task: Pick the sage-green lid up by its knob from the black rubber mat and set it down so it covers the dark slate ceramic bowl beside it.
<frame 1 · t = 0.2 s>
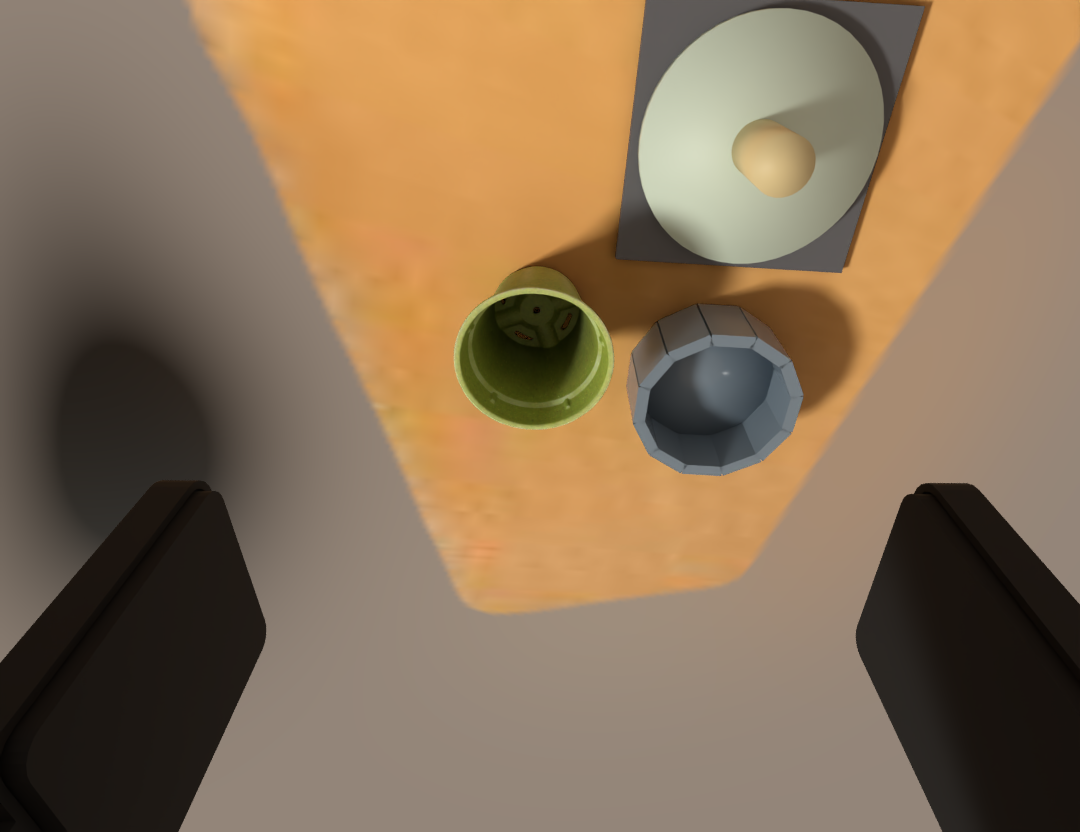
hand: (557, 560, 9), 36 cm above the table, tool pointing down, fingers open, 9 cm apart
plant pot: (537, 304, 46), on the table
mat: (752, 143, 40), on the table
lid: (754, 145, 39), point 1 cm above the table, touching mat
bowl: (702, 374, 48), on the table
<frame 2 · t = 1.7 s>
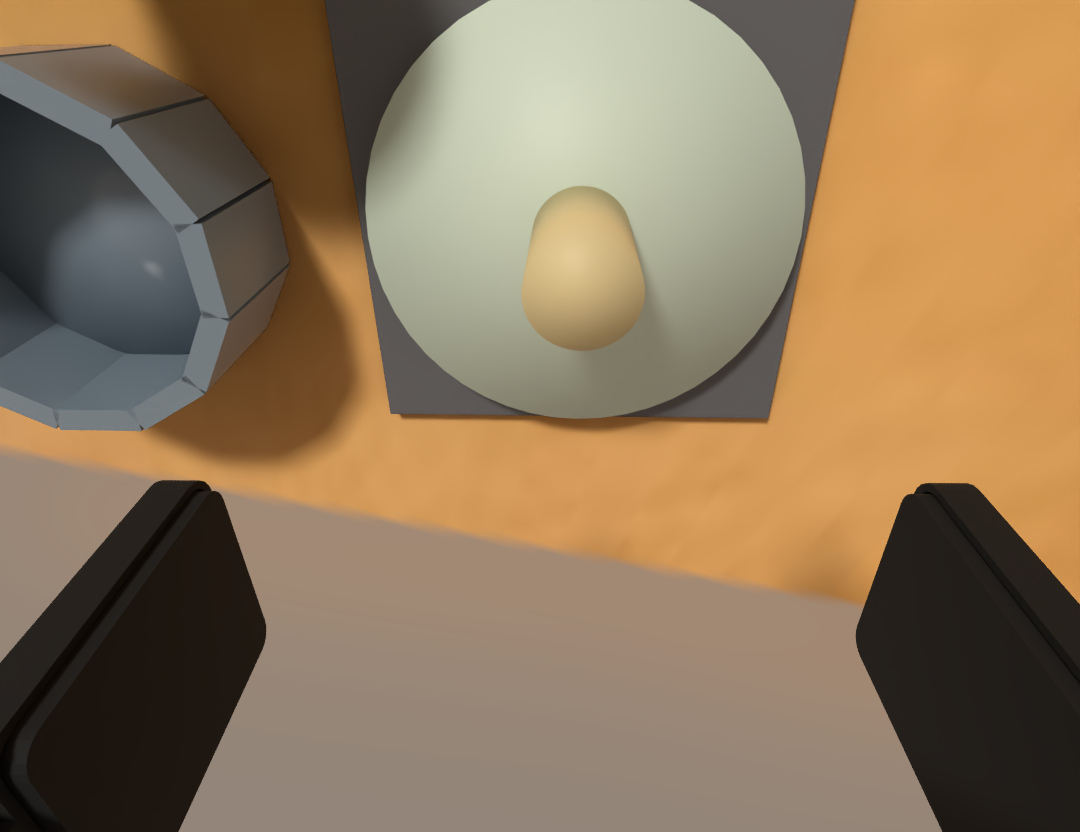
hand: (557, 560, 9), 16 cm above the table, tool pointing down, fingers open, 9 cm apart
mat: (580, 222, 22), on the table
lid: (581, 227, 22), point 1 cm above the table, touching mat
bowl: (129, 223, 23), on the table
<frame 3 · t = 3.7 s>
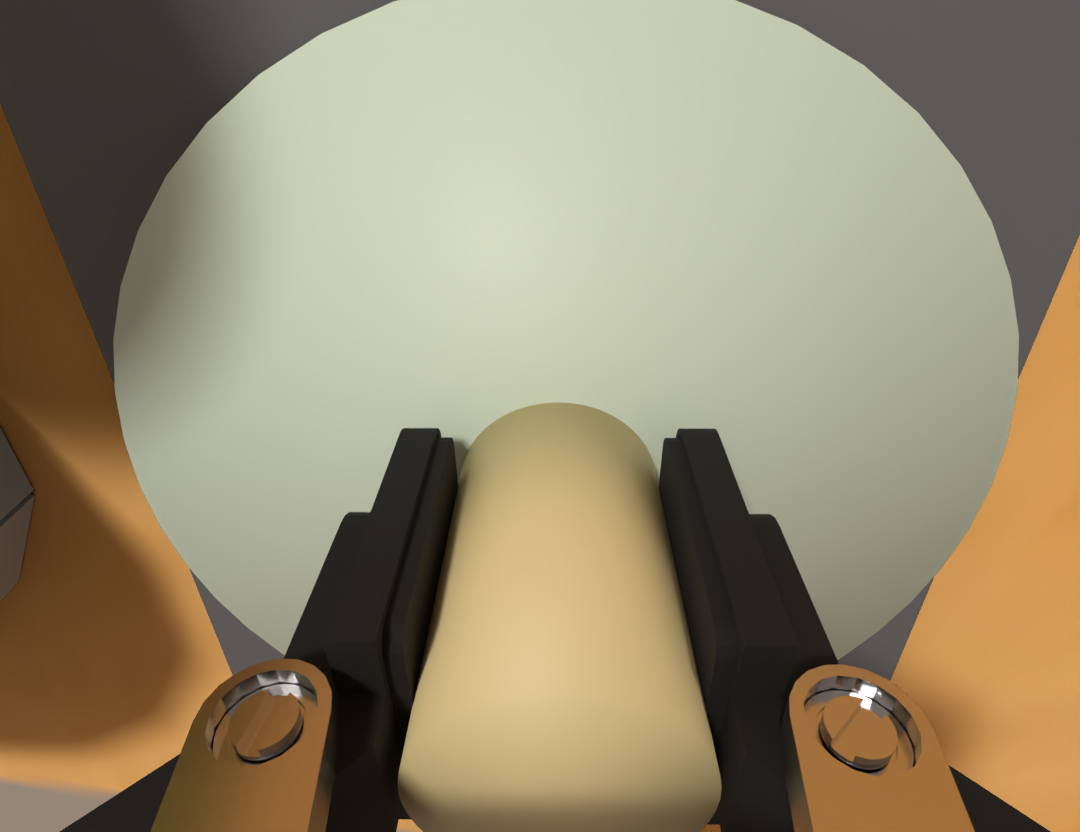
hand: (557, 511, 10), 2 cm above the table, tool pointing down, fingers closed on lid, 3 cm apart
mat: (557, 432, 12), on the table
lid: (557, 451, 12), point 1 cm above the table, touching gripper, mat
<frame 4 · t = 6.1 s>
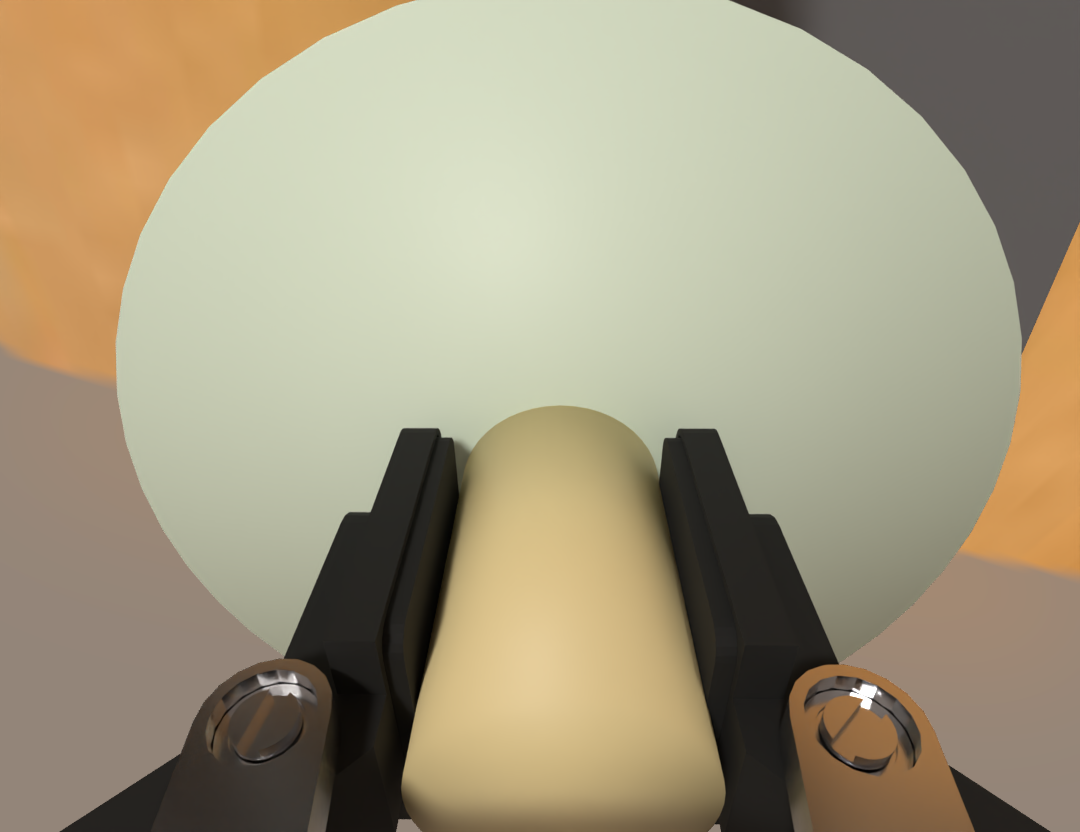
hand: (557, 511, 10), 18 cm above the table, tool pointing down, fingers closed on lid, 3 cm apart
mat: (870, 205, 25), on the table
lid: (559, 453, 12), point 16 cm above the table, touching gripper
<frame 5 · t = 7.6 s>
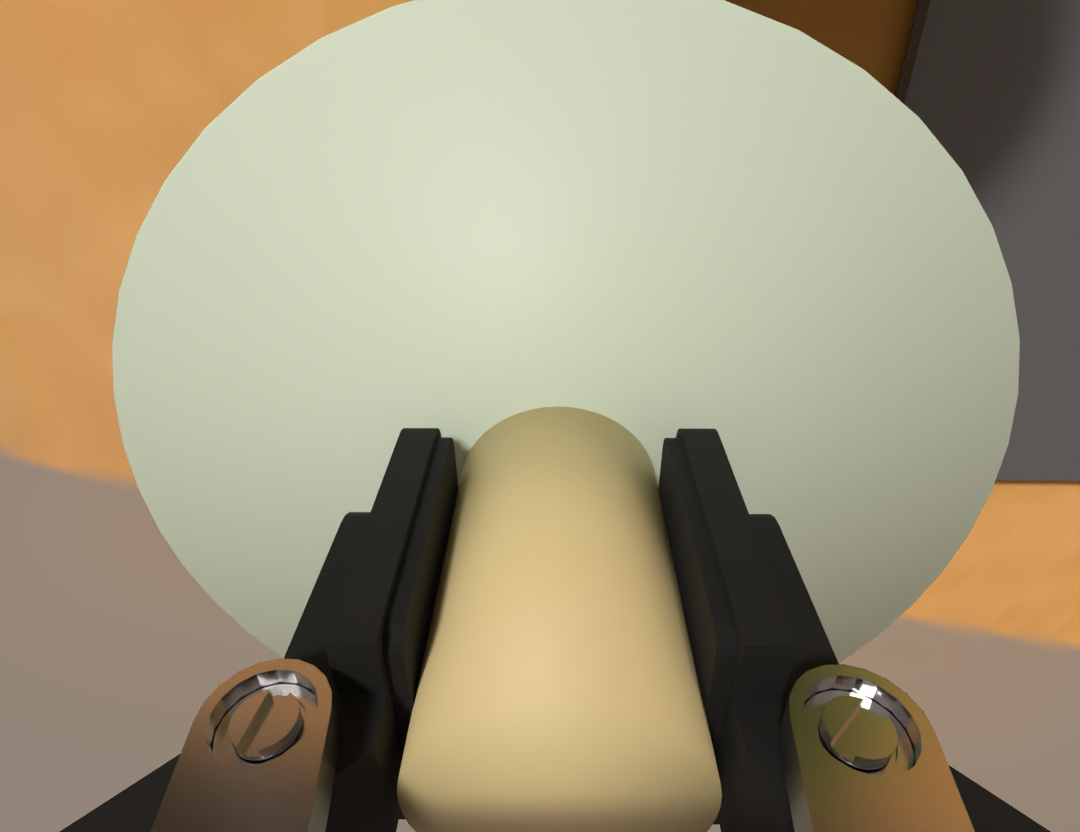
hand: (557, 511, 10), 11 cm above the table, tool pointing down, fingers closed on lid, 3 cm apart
lid: (557, 454, 12), point 10 cm above the table, touching gripper
when the fingers open (8 cm above the table, at t = 8.9 s): lid drops 1 cm, resting on bowl.
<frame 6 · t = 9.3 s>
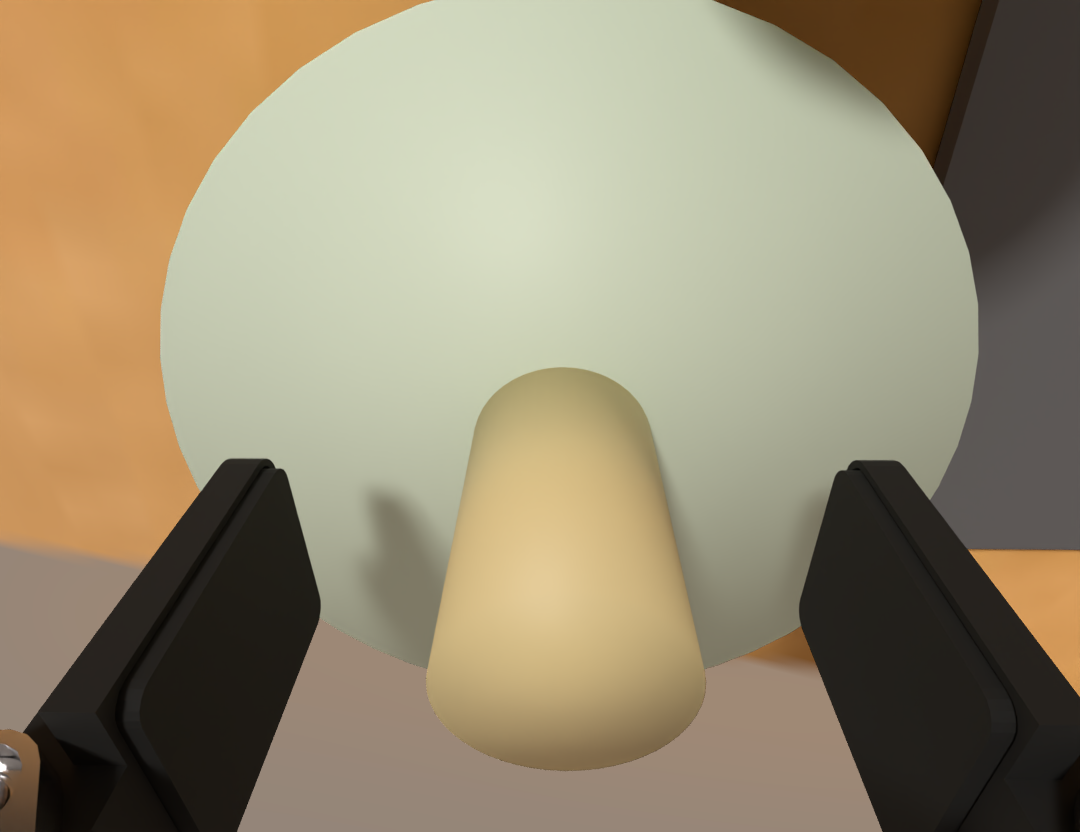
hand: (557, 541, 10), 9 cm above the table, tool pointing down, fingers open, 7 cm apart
lid: (561, 416, 13), point 5 cm above the table, touching bowl
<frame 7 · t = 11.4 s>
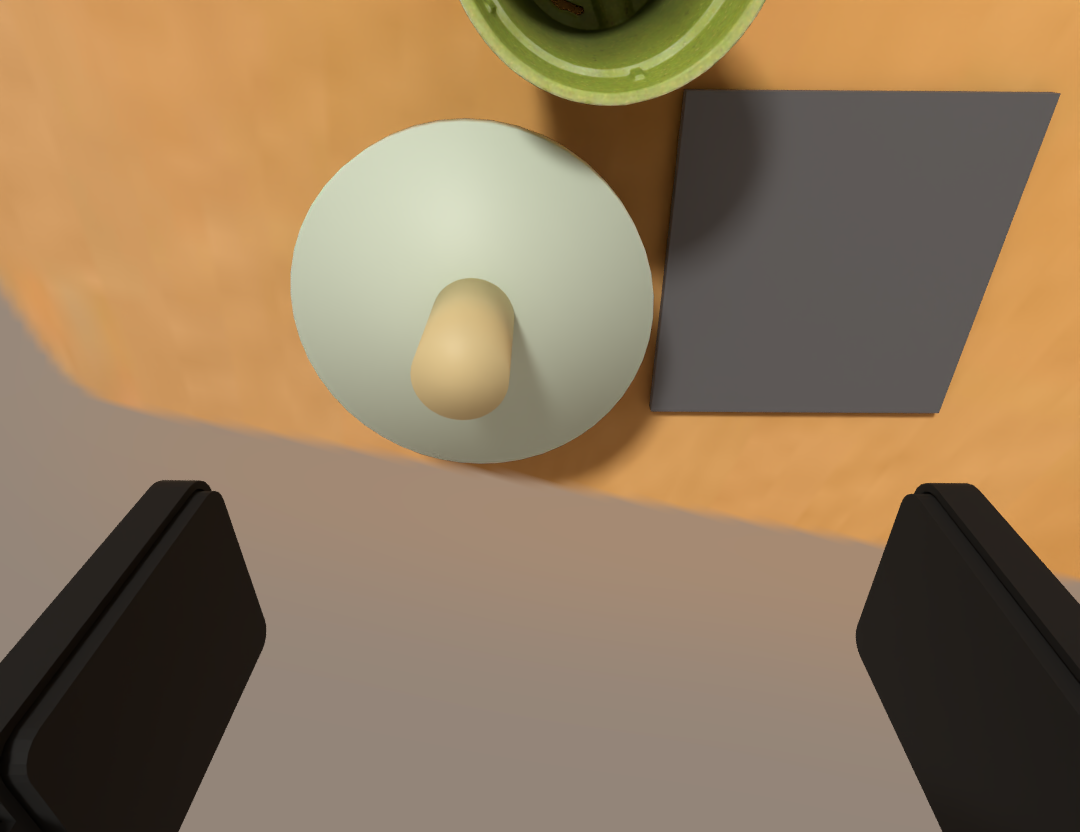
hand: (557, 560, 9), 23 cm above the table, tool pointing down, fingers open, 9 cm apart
mat: (824, 268, 31), on the table
lid: (475, 307, 26), point 5 cm above the table, touching bowl
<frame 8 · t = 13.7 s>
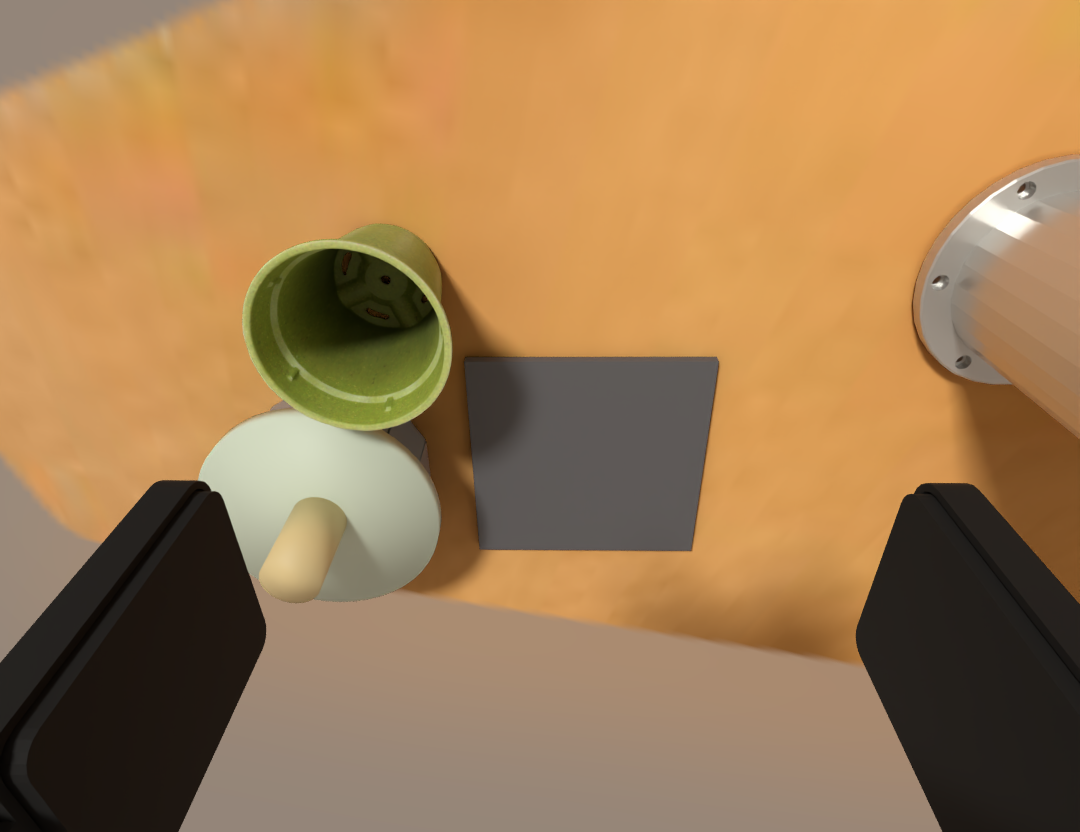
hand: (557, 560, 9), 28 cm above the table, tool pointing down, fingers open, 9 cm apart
plant pot: (390, 276, 37), on the table
mat: (587, 459, 43), on the table
lid: (324, 507, 39), point 5 cm above the table, touching bowl
bowl: (346, 458, 43), on the table
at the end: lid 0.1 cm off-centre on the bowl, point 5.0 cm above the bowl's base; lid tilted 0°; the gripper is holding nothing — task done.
